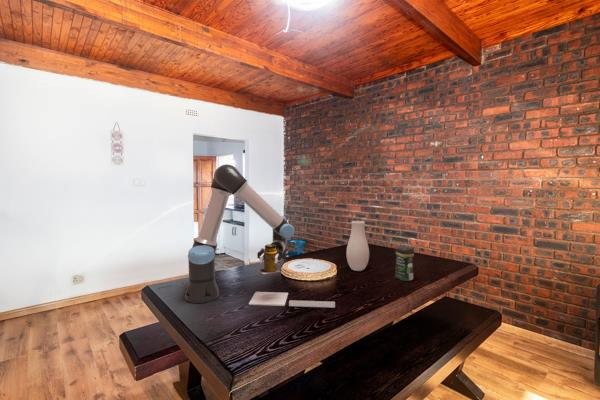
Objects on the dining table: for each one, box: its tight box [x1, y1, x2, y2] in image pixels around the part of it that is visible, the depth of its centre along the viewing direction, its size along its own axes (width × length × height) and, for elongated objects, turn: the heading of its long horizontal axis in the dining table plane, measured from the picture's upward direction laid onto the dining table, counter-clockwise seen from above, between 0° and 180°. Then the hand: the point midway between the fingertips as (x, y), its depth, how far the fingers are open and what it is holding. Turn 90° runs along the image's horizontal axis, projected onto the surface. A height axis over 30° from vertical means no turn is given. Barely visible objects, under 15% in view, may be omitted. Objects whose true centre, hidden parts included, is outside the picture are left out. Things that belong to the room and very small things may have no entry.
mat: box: [248, 291, 289, 307], centre depth 139 cm, size 16×14×1 cm
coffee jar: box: [394, 245, 415, 282], centre depth 166 cm, size 10×8×19 cm
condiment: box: [257, 243, 281, 275], centre depth 137 cm, size 7×8×12 cm
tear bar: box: [288, 299, 336, 308], centre depth 131 cm, size 20×2×2 cm, turn 86°
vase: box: [345, 220, 370, 272], centre depth 183 cm, size 14×14×30 cm
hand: (268, 260), depth 132 cm, fingers closed on condiment, 6 cm apart
